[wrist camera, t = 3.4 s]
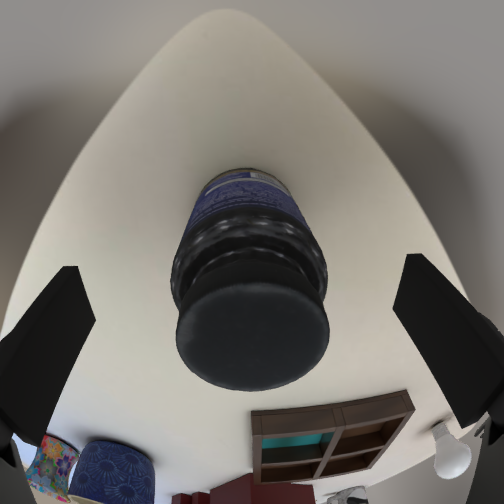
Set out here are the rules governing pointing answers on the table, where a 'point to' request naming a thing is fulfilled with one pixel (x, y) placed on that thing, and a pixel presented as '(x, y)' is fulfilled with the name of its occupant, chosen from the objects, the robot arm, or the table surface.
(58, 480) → the floral vase
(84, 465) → the planter
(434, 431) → the lightbulb
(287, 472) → the wooden box
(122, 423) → the table surface
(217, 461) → the table surface
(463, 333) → the robot arm
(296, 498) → the toy houses
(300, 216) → the pill bottle
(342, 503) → the mug
